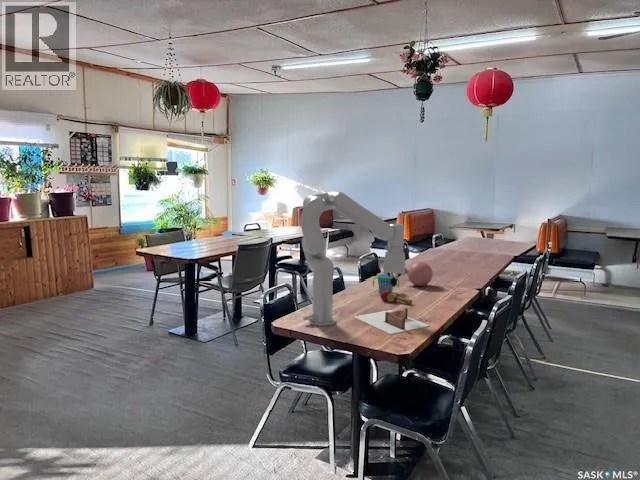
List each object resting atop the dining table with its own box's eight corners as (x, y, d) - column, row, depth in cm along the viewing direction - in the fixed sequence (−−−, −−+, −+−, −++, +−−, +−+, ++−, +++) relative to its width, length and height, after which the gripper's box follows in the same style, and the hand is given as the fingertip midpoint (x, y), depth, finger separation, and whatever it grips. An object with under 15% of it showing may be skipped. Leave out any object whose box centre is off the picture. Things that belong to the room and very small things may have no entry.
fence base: (402, 329, 213) (403, 319, 212) (384, 321, 224) (384, 312, 224) (405, 329, 214) (405, 319, 213) (387, 321, 225) (387, 311, 225)
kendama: (413, 305, 259) (383, 296, 268) (414, 294, 257) (384, 286, 266) (407, 311, 253) (377, 301, 262) (408, 300, 251) (378, 291, 260)
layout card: (390, 334, 208) (390, 333, 208) (353, 317, 233) (353, 316, 232) (429, 326, 219) (429, 325, 219) (390, 310, 244) (390, 309, 244)
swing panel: (389, 321, 224) (390, 312, 223) (387, 320, 225) (387, 311, 225) (408, 317, 230) (408, 308, 229) (405, 316, 231) (406, 308, 231)
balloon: (404, 281, 310) (404, 258, 308) (434, 284, 302) (435, 260, 299) (397, 286, 297) (397, 262, 294) (428, 289, 288) (429, 264, 286)
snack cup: (398, 290, 285) (398, 274, 284) (399, 295, 275) (400, 278, 274) (372, 290, 287) (372, 273, 285) (372, 294, 276) (372, 277, 275)
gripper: (379, 249, 228) (377, 286, 230) (410, 251, 224) (408, 289, 227) (381, 247, 235) (379, 283, 238) (411, 249, 231) (409, 285, 234)
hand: (393, 286), depth 232 cm, fingers closed
